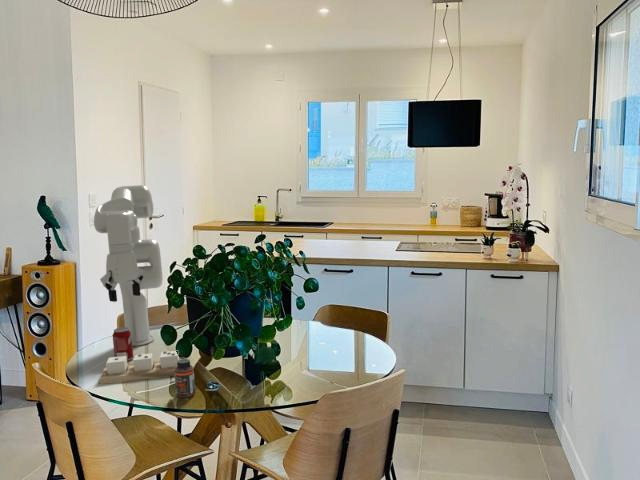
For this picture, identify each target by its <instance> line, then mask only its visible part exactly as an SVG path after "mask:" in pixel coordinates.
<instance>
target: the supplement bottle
mask: <svg viewBox="0 0 640 480" xmlns="http://www.w3.org/2000/svg"><path fill="white" fill-rule="evenodd" d="M177 366H178V367H176V368H175V376H174V381H175V394H176V396H177V397H178V398H181V399H184V398H185V399H187V398H190V397H191V398H192V397H193V396H194V395H195V394H196V385H195V371H194V367H193V365H191V359H189V358H185V359H180V360H178V361H177Z"/></svg>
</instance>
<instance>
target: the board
mask: <svg viewBox="0 0 640 480" xmlns="http://www.w3.org/2000/svg"><path fill="white" fill-rule="evenodd" d="M180 358H181V357H179V360H180ZM175 368H176V367H169V368H161V363H160V359H158V360H153V368H152V369H151V370H141V371H134V362H129V363H127V369H126V372H123V373H114V374H107V365H105V366H104V368H103V371H102V373H101V375H100V377H99V384H100V385H104V384H112V383H121V382H131V381H139V380H140V381H141V380H146V379H147V380H148V379H157V378H165V376H167V377H173V376H174V377H175Z"/></svg>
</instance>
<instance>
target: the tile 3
mask: <svg viewBox="0 0 640 480" xmlns="http://www.w3.org/2000/svg"><path fill="white" fill-rule="evenodd" d="M176 351H177V350H170V351H162V352H161V351H160V356H159V360H160V363H161V369H163V368H172V367H178V366H177V361H178V360H179V358H180V356H178V355H179V353H178V354H177V352H176Z"/></svg>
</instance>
